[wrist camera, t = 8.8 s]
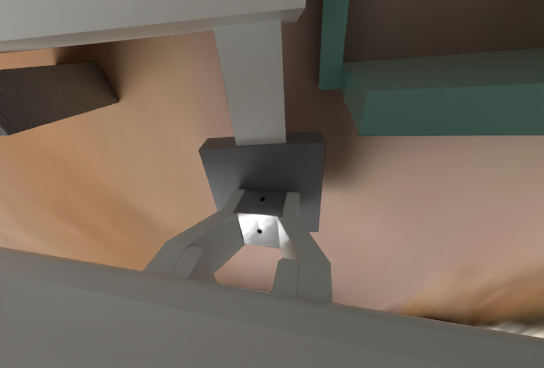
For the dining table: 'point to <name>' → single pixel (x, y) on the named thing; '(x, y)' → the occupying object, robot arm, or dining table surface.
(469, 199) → the dining table surface
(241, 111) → the chute lever
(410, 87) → the cup
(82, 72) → the lever stand
